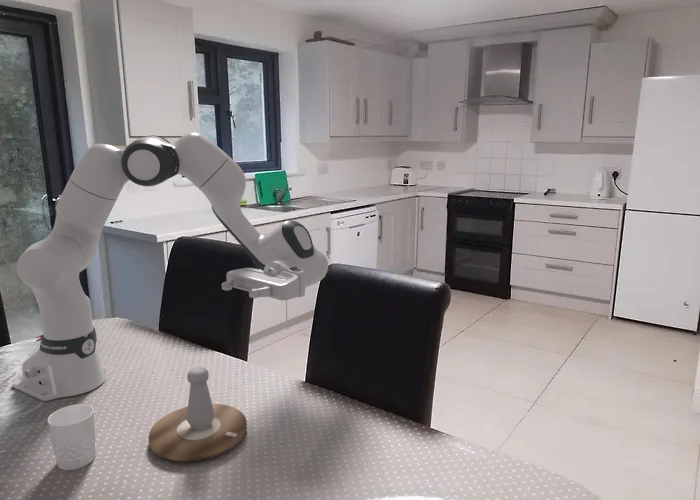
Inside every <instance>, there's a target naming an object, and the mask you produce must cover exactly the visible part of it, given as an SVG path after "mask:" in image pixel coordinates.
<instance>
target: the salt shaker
mask: <svg viewBox="0 0 700 500" xmlns="http://www.w3.org/2000/svg"><path fill="white" fill-rule="evenodd" d="M209 374H210V373H209V370H208V369H207V368H205V367H203V366H196V367H194V368H191V369H190V370H188V372H187V376H186V379H187V382H188V383H189V384H190V385H189V393H188V401H187V407H188V409H187V417H186V420H187V422H188V423H189V424H190V426H191V428H192V429H193V430H195V431H203V430H206V429H208V428H209V427H210V425H211V423H212V421H213V419H214V409H213V405H212V404H213V402H212V398H211V395H210V389H209V386H208V382H207V381H208V380H209Z"/></svg>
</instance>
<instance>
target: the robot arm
mask: <svg viewBox="0 0 700 500" xmlns="http://www.w3.org/2000/svg"><path fill="white" fill-rule="evenodd" d="M177 175H180V176H182V177H185V178H186V179H187V180H189V181H190V182H191V183H192V184H193V185H194V186H195V187H196V188H198V189H199V190H200V191H201V192H202V193H203V195H204V196H205V197H206V199H208V201H209V203H210V205H211V211H212V213H214V215H215V217H216V218H217V219H218V221H219V222H220V223H221V224H222V225H223V227H224V228H225V229H226V230H227V231H228V233H230V235H231V236H232V237H233V238H234V239H235V240H236V241H237V242H238V243H239V245H240V246H241V247H242V248H243V249H244V251H245V252H246V253H247V254H248V256H249V257H250V259H251V261H252V262H253V264H254V265H255V266H256V268H253V267H243V268H237V269H233V270H229V271H228V272H226V277H225V278H226V281H224V282H222V283H221V289H222V290H224V291H227V292H228V291H231V290H233V288H234V289H237V290H238V289H239V290H242V291H246V292H248V293H249V294H248V297H250V298H252V299H256V298H257V299H258V298H267V297H268V298H272V299H276V300H278V301H289V300H292V299H296V298H302V297H304V296H305V295H306V288H308V287H310V286H312V285H315V284H317V283H319V282H321V281H322V280H323V279H324V278H325V277H326V275H327V273H328V272H329V261H328V259H327V256H326V255H325V254H324V253H323V252H322V251H320V250H319V249H318V248H316V246H315V245H314V243H313V239H312V236H311V235H310V232H309V230H308V229H307V228H306V227H305V225H304V224H302V223H300V222H298V221H296V220H292V219H291V220H286V221H283V222H282V223H281V224H279V225H278V226H276V227H275V228H274V229H273V230H271V231H269V232H267V234H262V233H260V232H259V231H258V230H257V228H256V227H255V226H254V225H253V224H252V222H250V221H249V219H248V218H247V217H246V216H245V215H244V213H243V211H242V209H241V202H242V199H243V197H244V193H245V191H246V185H247V183H246V182H247V181H246V176H245V173H244V171H243V170H242V168H241V167H240V166H239V163H237V162H236V161H235V160H233V158H232V157H231V156H229V154H227V153H226V152H225V151H224V150H223V149H221V147H219V146H217V145H216V144H215V143H214V142H212V141H211V140H210V139H208V138H207V137H205V136H203V135H202V134H200V133H197V132H189V133H186V134H184V135H182V136H180V138H179V139H177V141H175V142H173V143H171V142H170V141H169V140H167V139H166V138H164V137H162V136H159V135H145V136H141V137H138V138H136V139H135V140H134V141H133V142H130V144H128V145H127V146H126V147H125V148H119V147H116V146H114V145H111V144H107V143H95V144H92V145H91V146H90V147H89V148H88V149H87V150H86V152H85V153H84V154H83V155H82V157H81V158H80V160H79V161H78V163H77V164H76V166H75V167H74V169H73V170H72V173H71V175H70V177H69V179H68V181H67V182H66V184H65V187H64V189H63V192H62V193H61V195H60V197H59V199H58V201H57V203H56V206H55V212H56V215H55V221H54V224H53V227H52V230H51V232H50V234H48V236H46V238H43V239H41V240H39V241H36V242H35V243H32V244H31V245H30V246H28V247H27V248H26V250H24V252H23V253H22V254H21V255H20V256H19V258H18V260H17V262H16V271H17V272H16V273H17V275H18V277H19V279H20V280H21V281H22V282H23V284H25V285H27V286H28V287H29V288H30V289H31V292H32V293H33V295H34V297H35V300H36V303H37V306H38V308H39V313H40V314H39V315H40V320H41V325H42V326H41V327H42V335H39V336H36V337H35V341H36V342H40V344H39V347H38V349H37V350H36V351H35V352H33V353H32V354H31V355H30V356H28V357H27V358H26V359H25V360H24V361H23V363H22V367H21V369H22V371H21V372H22V373H21V374H22V375H21V376H19V377H18V378H16V379H15V380H14V381H13V382H12V388H13V389H14V388H15V389H16V390H18V391H20V392H22V393H24V394H27V395H29V396H31V397H34V398H36V399H38V400H40V401H42V402H47V401H52V400H55V399H56V400H57V399H59V398H67V397H74V396H78V395H83V394H85V393H88V392H90V391H93V390H95V389H97V388H98V387H100V386H101V385H102V384H104V382H105V381H106V380H107V376H106V373H105V372H106V366H105V364H103V361H102V357H101V353H100V350H99V349H100V347H99V345H98V343H97V341H98V340H97V339H98V338H97V332H96V328H95V327H94V321H93V314H92V313H93V311H92V305H91V300H90V298H89V296H88V295H86V293H85V292H84V290H83V287H82V284H81V281H80V273H81V272H82V271H84V270H85V269H87V268H88V267H89V266H90V265H91V263H92V261H93V260H94V258H95V256H96V252H97V248H98V245H99V242H100V239H101V235H102V232H103V229H104V226H105V225H106V222H107V220H108V218H109V216H110V214H111V212H112V210H113V208H114V206H115V203H116V202H117V200H118V198H119V196H120V194H121V192H122V190H123V188H124V187H125V185H126V184H127V183H128V182H129V181H131V183H133V184H135V185H138V186H141V187H153V186H154V187H155V186H158V185H160V184H162V183H164V182H166V181H167V180H169V179H171V178H173V177H175V176H177ZM36 339H37V340H36Z"/></svg>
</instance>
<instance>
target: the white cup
mask: <svg viewBox="0 0 700 500" xmlns="http://www.w3.org/2000/svg"><path fill="white" fill-rule="evenodd" d="M94 410H95V409H94V407H93V406H91V405H89V404H87V403H86V404H85V403H79V404H70V405H67V406H64V407H61V408H59V409H57V410H54V411H53V412H52V413H51V414H50V415H48V418H47V420H46V421H47V426H48V430H49V435H50V442H51V445H52V449H53V454H54V457H55V461H56V465H57V467H58V469H60V470H63V471H75V470H79V469H82V468H85V466H88V465H90V464H91V463H92V462H93V461H94V460H95V458H96V452H97V451H96V429H95V428H96V426H95V413H94Z"/></svg>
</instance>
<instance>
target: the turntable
mask: <svg viewBox="0 0 700 500" xmlns="http://www.w3.org/2000/svg"><path fill="white" fill-rule="evenodd" d="M212 405H213V409H214V419H213V421H212V423H211V425H210V427H209V428H208V429H206V430H203V431H195V430H193V429H192V428H191V426H190V424H189V423H188V422H187V420H186V417H187V409H188V406H185V407H182V408H179V409H176V410H173V411H172V412H169V413H167V414H166V415H164V416H162V417H161V418H159V419H158V420H157V422H155V423H154V425H153V426H152V427H151V429H150V430H149V433H148V445H149V448H150V450H151V451H152V452H153V453H154V454H155V455H156V456H158V457H161V458H162V459H166V460H168V461H174V462H196V461H202V460H207V459H211V458H213V457H217V456H220V455H222V454H223V453H226V452H228V451H230V450H232V449H233V448H234V447H236V446H237V445H238V444H239V443H240V442H241V441H242V440H243V439H244V437H245V436H246V433H247V429H248V425H247V418H246V415H244V413H243V412H242V411H241V410H239V409H237V408H235V407H233V406H231V405H227V404H223V403H221V404H220V403H212Z"/></svg>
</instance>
